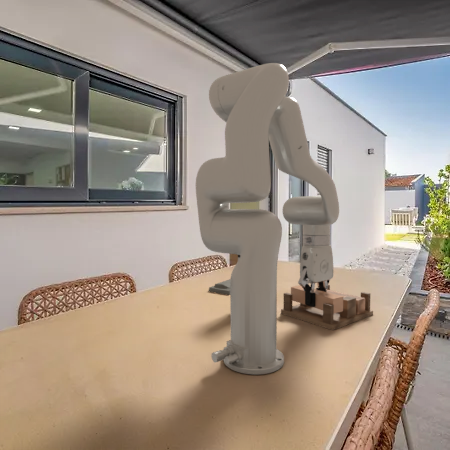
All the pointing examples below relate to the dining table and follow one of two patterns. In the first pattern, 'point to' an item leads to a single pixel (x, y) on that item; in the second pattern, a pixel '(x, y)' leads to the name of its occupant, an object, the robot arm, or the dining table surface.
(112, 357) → the dining table surface
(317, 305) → the slat
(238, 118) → the robot arm
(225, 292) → the soap mold
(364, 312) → the rack
